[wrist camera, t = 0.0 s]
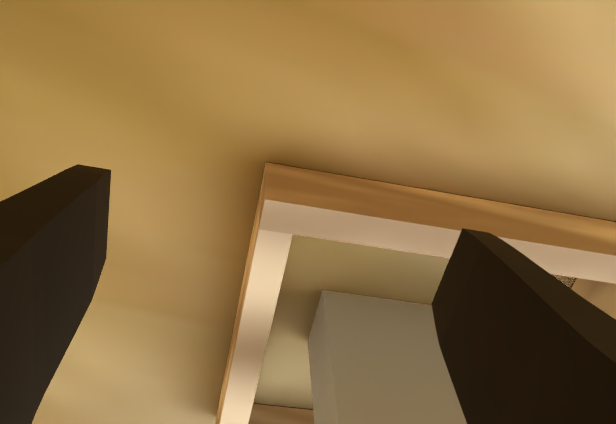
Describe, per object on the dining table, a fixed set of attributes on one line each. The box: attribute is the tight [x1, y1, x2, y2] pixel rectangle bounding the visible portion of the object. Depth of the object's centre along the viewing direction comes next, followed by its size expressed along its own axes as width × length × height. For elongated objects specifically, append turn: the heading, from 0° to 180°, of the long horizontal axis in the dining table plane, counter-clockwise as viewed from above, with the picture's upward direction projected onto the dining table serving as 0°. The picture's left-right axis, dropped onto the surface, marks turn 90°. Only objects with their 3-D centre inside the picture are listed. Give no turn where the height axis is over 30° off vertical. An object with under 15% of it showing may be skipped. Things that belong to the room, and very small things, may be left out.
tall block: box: [308, 290, 467, 424], centre depth 23 cm, size 3×9×8 cm, turn 78°
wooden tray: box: [215, 162, 616, 424], centre depth 25 cm, size 14×22×4 cm, turn 78°
